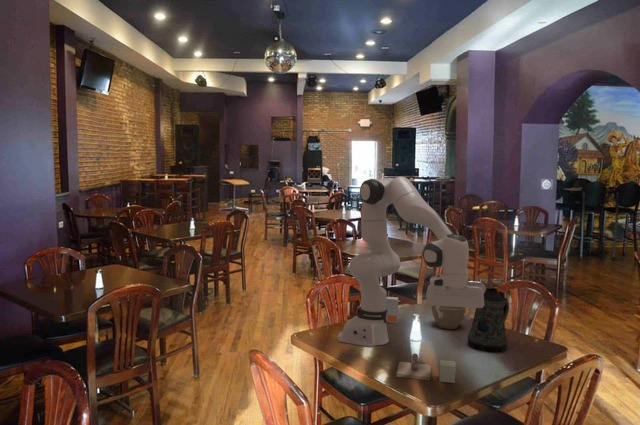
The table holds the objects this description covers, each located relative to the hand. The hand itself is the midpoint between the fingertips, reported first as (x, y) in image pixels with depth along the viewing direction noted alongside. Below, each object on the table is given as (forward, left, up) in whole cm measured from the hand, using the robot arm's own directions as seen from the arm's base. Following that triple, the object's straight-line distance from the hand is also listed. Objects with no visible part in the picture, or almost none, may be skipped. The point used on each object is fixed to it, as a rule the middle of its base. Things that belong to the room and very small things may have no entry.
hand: (454, 318), depth 189 cm
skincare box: (-28, +64, -23) cm, 74 cm away
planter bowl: (-1, +65, -23) cm, 69 cm away
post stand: (-13, +3, -23) cm, 27 cm away
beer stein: (+16, +43, -23) cm, 51 cm away
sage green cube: (-1, 0, -23) cm, 23 cm away
